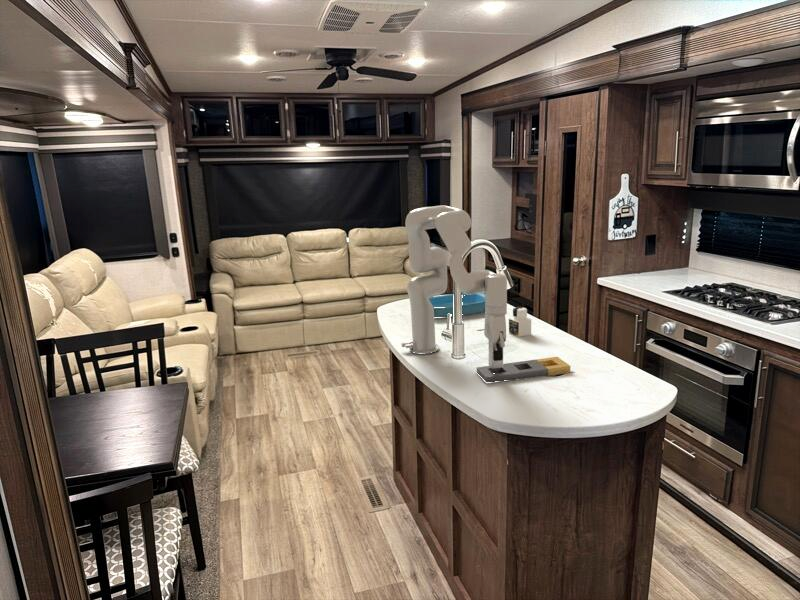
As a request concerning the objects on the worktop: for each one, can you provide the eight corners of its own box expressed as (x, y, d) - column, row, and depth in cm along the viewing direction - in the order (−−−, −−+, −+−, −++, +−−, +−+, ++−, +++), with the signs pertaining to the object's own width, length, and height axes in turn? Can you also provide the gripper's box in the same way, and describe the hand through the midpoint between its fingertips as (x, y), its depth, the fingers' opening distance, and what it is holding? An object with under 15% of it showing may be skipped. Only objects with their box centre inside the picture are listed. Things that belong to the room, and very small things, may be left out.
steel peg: (492, 368, 195) (492, 342, 192) (488, 364, 198) (488, 338, 196) (503, 367, 195) (503, 341, 193) (499, 363, 199) (499, 337, 196)
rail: (486, 384, 192) (486, 377, 191) (476, 373, 201) (476, 367, 200) (570, 372, 197) (570, 365, 197) (557, 362, 207) (557, 356, 206)
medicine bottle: (508, 333, 244) (508, 307, 241) (521, 330, 247) (521, 304, 244) (518, 337, 238) (518, 311, 235) (531, 334, 240) (531, 308, 237)
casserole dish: (426, 323, 267) (426, 308, 265) (413, 311, 288) (412, 298, 286) (495, 313, 276) (495, 299, 275) (477, 303, 297) (477, 290, 295)
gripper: (477, 304, 198) (478, 351, 203) (494, 317, 183) (494, 367, 187) (497, 302, 200) (497, 348, 205) (515, 314, 184) (514, 365, 189)
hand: (495, 357), depth 196 cm, fingers closed on steel peg, 4 cm apart
